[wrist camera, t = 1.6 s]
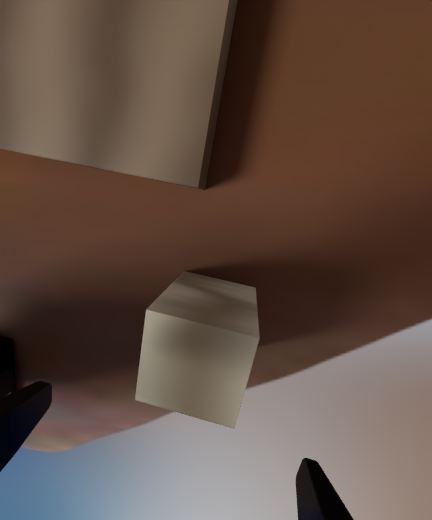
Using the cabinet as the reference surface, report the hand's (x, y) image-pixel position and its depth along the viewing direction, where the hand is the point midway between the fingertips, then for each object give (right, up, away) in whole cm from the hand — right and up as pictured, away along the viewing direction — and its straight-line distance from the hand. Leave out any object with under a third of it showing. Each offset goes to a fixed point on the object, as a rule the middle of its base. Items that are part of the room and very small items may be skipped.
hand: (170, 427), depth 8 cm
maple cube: (+1, +2, +8) cm, 9 cm away
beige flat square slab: (-4, +17, +5) cm, 18 cm away
